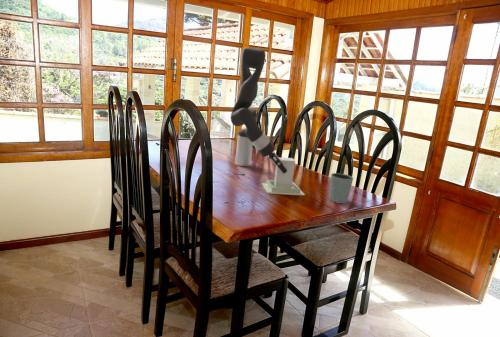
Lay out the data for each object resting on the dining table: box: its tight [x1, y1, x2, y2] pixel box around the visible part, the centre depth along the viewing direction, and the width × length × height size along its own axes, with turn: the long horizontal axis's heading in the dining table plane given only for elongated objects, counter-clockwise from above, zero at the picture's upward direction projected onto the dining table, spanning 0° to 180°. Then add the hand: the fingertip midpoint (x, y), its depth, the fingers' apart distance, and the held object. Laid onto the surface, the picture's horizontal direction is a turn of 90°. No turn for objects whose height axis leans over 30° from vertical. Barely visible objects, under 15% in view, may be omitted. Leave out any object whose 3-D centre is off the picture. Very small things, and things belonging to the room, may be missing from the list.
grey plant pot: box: [328, 172, 354, 204], centre depth 164 cm, size 10×10×12 cm
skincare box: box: [273, 156, 296, 188], centre depth 169 cm, size 8×6×15 cm
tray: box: [261, 179, 306, 196], centre depth 171 cm, size 14×18×3 cm
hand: (283, 169), depth 168 cm, fingers open, 8 cm apart
